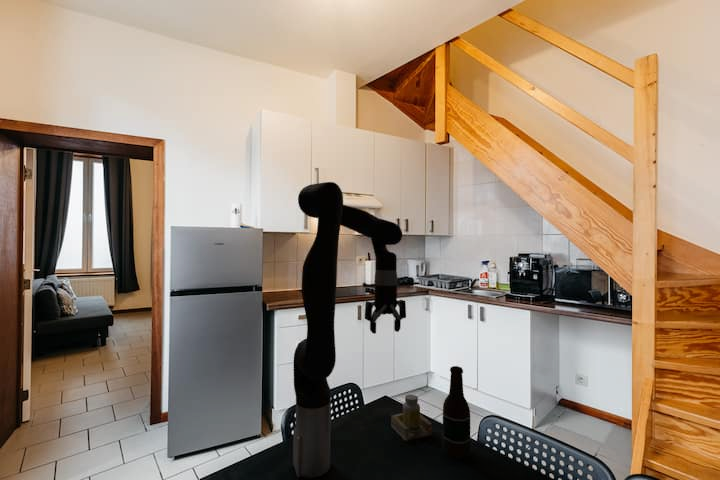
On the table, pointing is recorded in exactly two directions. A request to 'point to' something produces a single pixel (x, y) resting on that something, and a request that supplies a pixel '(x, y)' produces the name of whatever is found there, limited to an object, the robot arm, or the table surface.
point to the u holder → (404, 430)
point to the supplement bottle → (411, 413)
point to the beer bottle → (456, 418)
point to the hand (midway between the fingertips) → (385, 332)
